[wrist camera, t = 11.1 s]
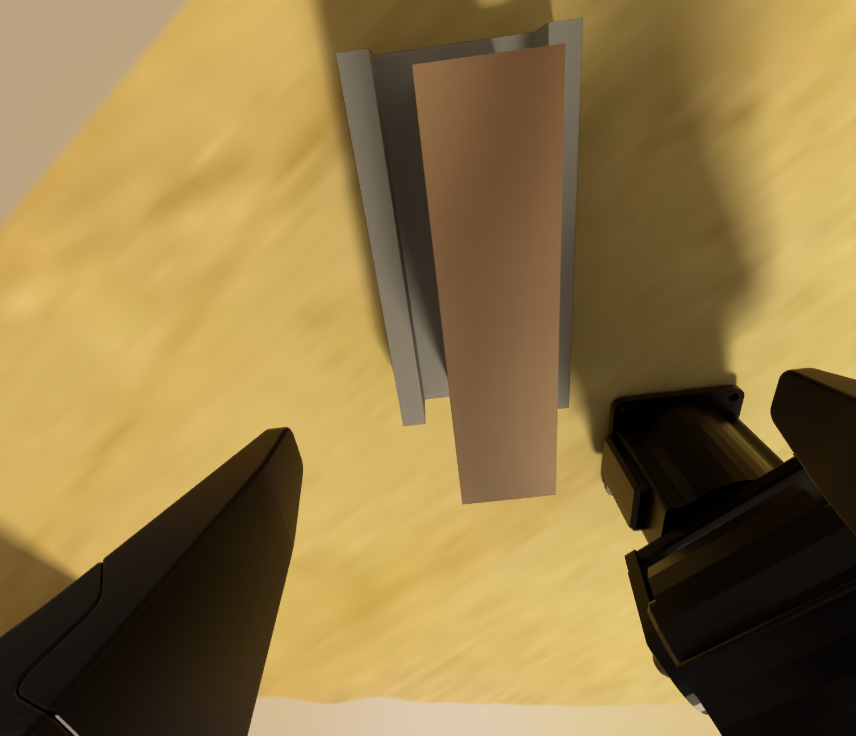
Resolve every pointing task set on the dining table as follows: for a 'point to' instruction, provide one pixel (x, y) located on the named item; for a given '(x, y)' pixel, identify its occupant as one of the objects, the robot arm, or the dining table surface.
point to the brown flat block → (497, 258)
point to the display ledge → (408, 209)
